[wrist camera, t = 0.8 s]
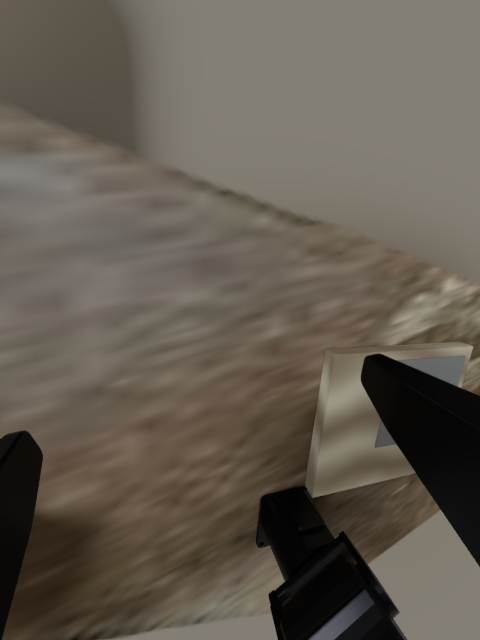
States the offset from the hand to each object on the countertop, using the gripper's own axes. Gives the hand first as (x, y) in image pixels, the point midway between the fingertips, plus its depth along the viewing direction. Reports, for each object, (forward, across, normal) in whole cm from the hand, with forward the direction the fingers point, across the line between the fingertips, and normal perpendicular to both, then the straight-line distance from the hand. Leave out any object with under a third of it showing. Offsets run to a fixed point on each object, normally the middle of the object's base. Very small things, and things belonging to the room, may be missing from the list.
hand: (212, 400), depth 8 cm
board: (+13, -19, +21) cm, 31 cm away
